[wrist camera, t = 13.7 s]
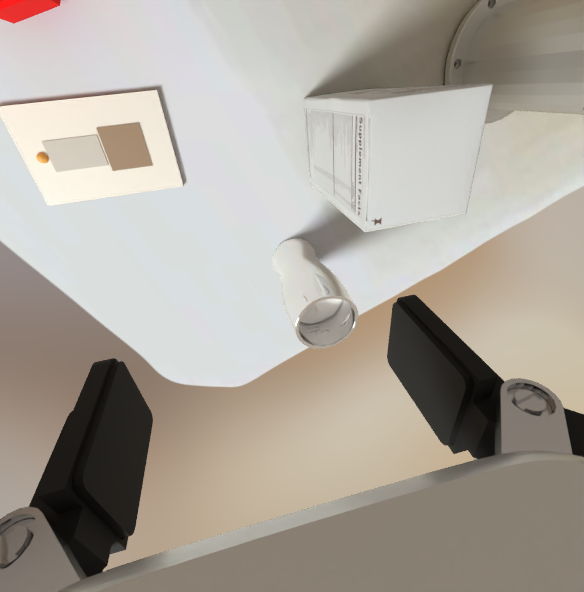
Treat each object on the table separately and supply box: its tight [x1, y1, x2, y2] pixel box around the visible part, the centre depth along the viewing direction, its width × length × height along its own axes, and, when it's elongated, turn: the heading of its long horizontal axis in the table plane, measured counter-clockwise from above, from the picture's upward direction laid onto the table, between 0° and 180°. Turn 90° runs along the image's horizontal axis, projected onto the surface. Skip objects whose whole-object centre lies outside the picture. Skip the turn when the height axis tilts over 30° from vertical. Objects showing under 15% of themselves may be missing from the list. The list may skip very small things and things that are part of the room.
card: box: [0, 90, 183, 206], centre depth 32 cm, size 14×9×1 cm, turn 94°
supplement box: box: [304, 84, 493, 232], centre depth 30 cm, size 10×9×17 cm
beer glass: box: [272, 238, 358, 349], centre depth 37 cm, size 7×7×15 cm
